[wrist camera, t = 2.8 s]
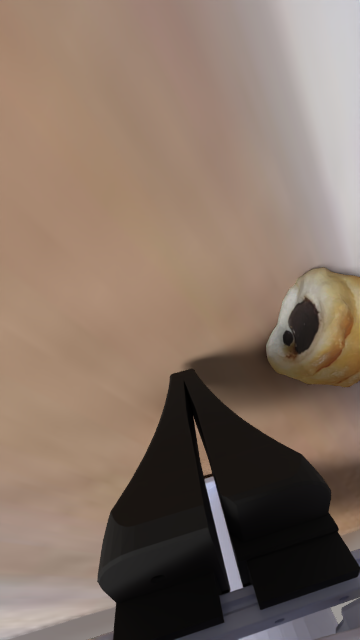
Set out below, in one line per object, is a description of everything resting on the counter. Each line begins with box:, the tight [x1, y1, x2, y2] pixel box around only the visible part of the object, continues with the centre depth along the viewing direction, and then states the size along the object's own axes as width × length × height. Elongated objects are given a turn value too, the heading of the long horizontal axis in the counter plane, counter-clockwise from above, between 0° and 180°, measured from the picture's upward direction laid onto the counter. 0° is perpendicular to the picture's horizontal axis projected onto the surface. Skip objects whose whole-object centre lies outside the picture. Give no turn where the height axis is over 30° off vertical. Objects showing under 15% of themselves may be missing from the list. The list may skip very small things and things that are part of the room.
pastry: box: [266, 267, 360, 387], centre depth 11 cm, size 9×7×4 cm
